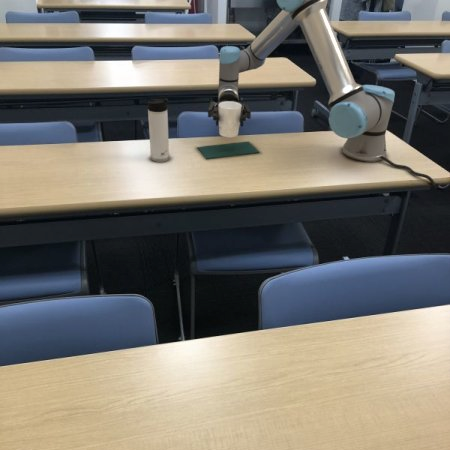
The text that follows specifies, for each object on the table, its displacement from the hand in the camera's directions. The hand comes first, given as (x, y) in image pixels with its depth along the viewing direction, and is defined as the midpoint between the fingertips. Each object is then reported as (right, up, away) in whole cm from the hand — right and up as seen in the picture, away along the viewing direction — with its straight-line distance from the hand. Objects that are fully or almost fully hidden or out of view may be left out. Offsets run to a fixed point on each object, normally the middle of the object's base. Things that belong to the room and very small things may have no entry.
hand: (229, 122), depth 163 cm
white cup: (0, -2, +8) cm, 8 cm away
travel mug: (-24, -11, +4) cm, 27 cm away
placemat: (0, -6, +11) cm, 13 cm away
